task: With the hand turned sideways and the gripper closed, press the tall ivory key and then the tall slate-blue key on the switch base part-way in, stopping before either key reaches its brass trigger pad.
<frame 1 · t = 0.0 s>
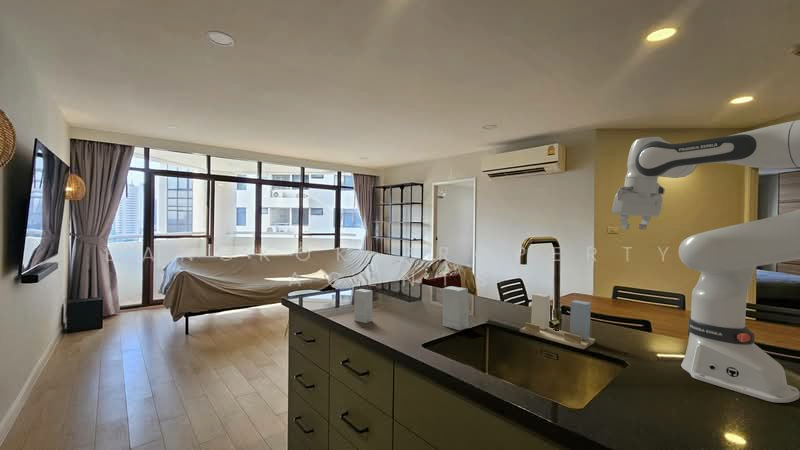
hand: (633, 229, 116), 39 cm above the worktop, tool pointing down, fingers open, 8 cm apart
switch base: (556, 336, 123), on the worktop
ivory key: (540, 310, 130), point 7 cm above the worktop, slide at 0.0 cm
skincare box: (363, 321, 136), on the worktop
skincare box 2: (454, 327, 131), on the worktop
slate blue key: (580, 319, 119), point 7 cm above the worktop, slide at 0.0 cm
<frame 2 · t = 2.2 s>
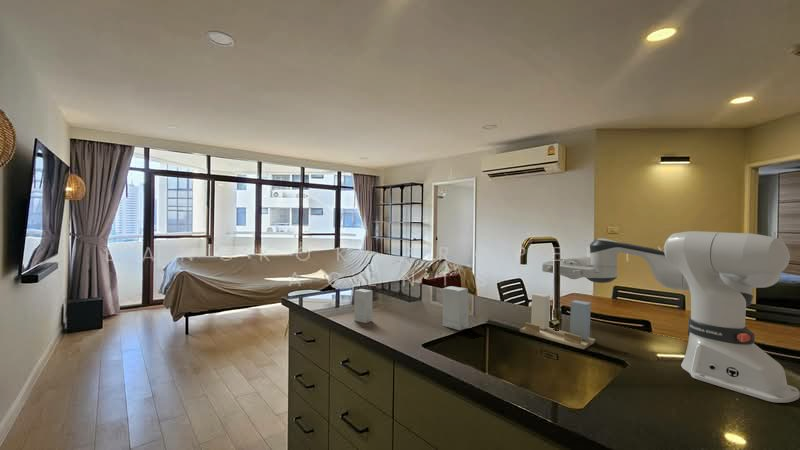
hand: (559, 271, 139), 21 cm above the worktop, tool horizontal, fingers open, 8 cm apart
nothing on the worktop moved.
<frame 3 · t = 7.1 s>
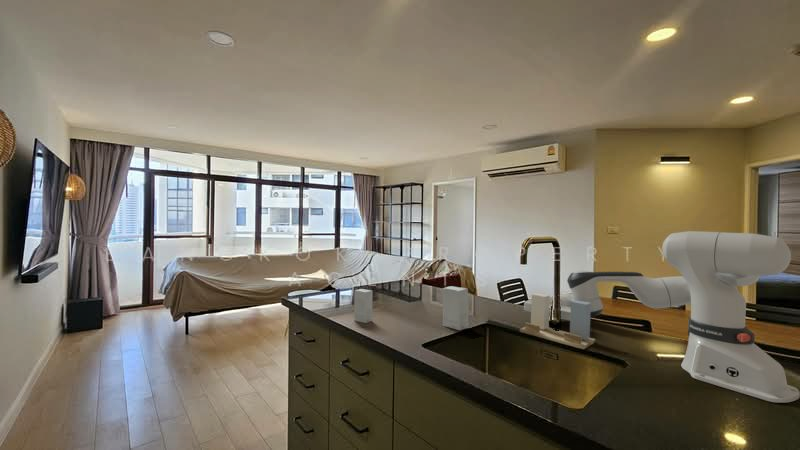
hand: (542, 313, 131), 6 cm above the worktop, tool horizontal, fingers closed, pressing on ivory key
ivory key: (540, 311, 129), point 7 cm above the worktop, slide at 0.3 cm, touching gripper
everything else where it was.
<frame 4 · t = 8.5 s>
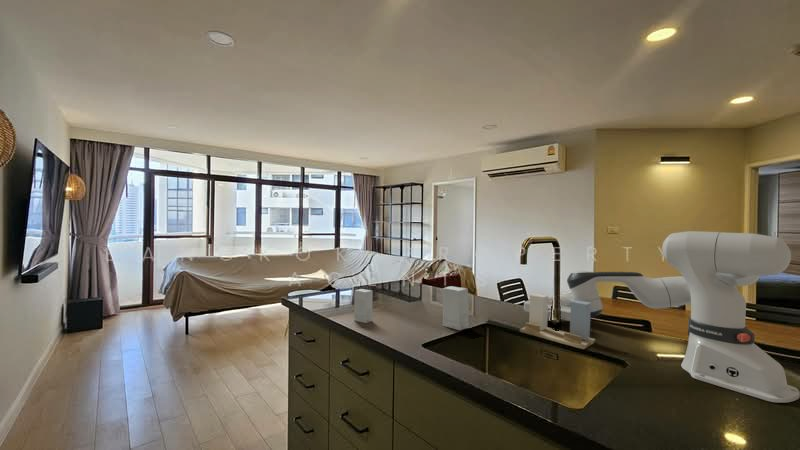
hand: (541, 313, 131), 6 cm above the worktop, tool horizontal, fingers closed
ivory key: (538, 311, 129), point 7 cm above the worktop, slide at 1.5 cm
everything else where it was.
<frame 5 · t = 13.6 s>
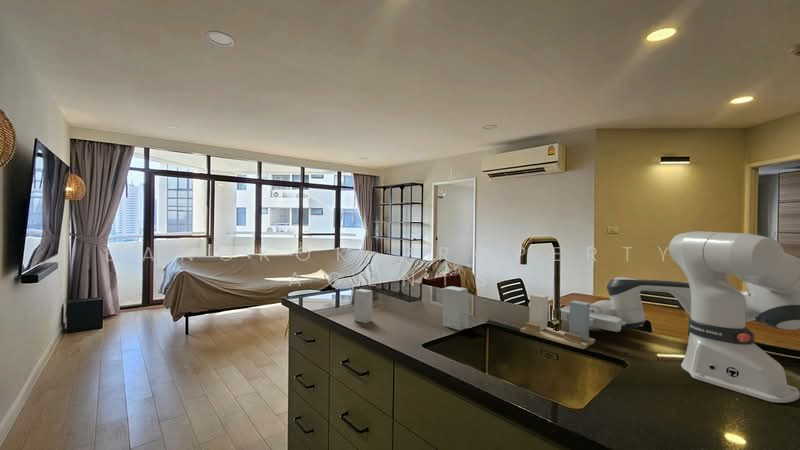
hand: (581, 323, 120), 6 cm above the worktop, tool horizontal, fingers closed, pressing on slate blue key
slate blue key: (579, 320, 119), point 7 cm above the worktop, slide at 0.8 cm, touching gripper
everything else where it was.
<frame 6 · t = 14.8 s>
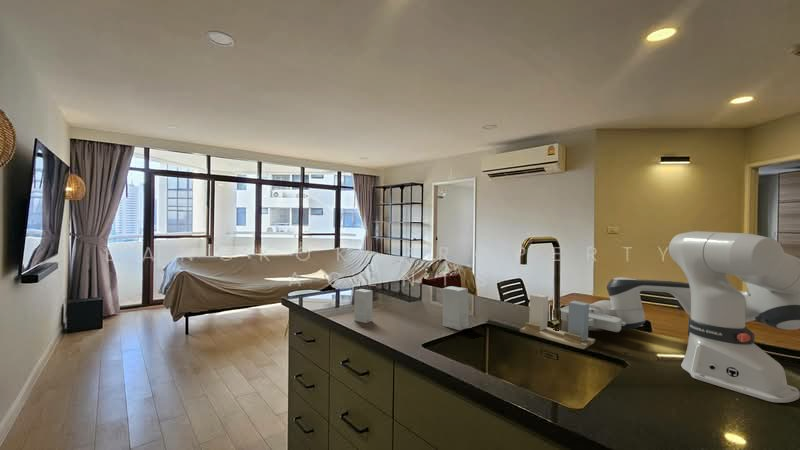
hand: (581, 323, 120), 6 cm above the worktop, tool horizontal, fingers closed
slate blue key: (578, 320, 118), point 7 cm above the worktop, slide at 1.6 cm
everything else where it was.
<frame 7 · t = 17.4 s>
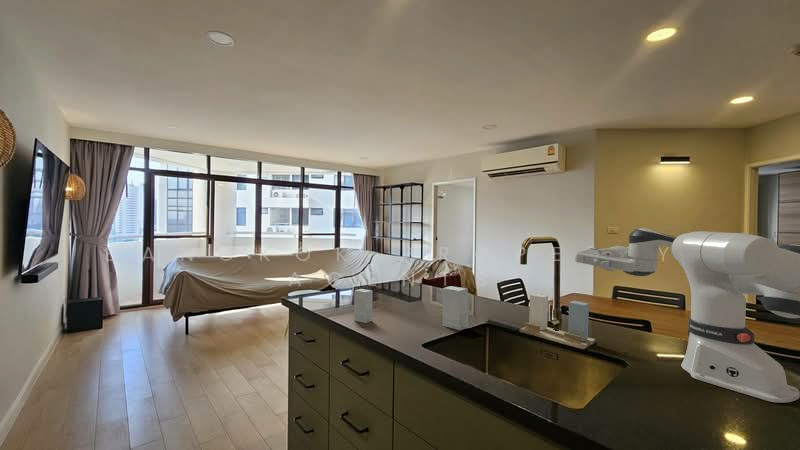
hand: (597, 264, 128), 25 cm above the worktop, tool horizontal, fingers closed
nothing on the worktop moved.
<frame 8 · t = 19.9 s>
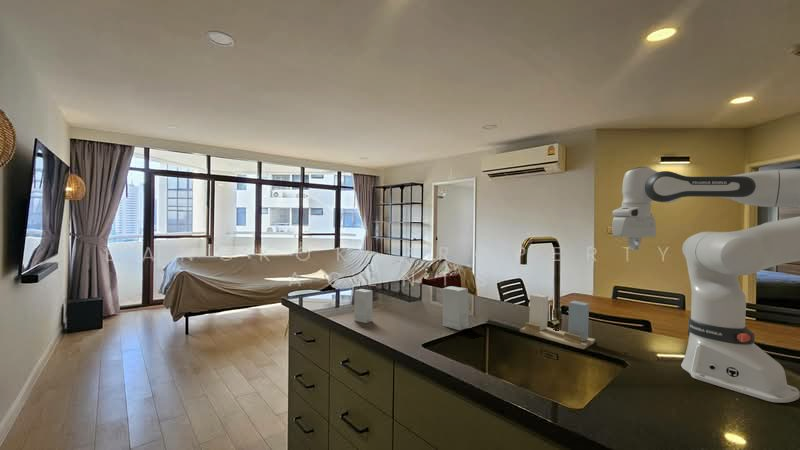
hand: (634, 249, 127), 31 cm above the worktop, tool pointing down, fingers closed
nothing on the worktop moved.
at the end: ivory key slide at 1.5 cm; slate blue key slide at 1.6 cm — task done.
